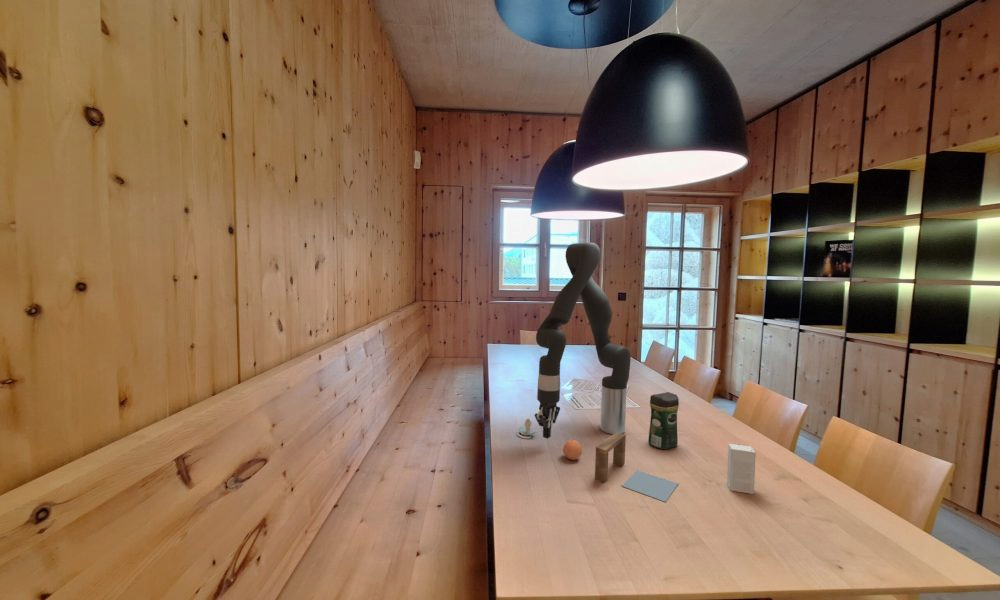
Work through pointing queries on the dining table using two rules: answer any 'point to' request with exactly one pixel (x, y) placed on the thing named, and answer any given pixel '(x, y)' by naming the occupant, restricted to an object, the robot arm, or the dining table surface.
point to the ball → (572, 449)
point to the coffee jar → (663, 420)
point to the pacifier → (527, 431)
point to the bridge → (602, 455)
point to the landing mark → (650, 485)
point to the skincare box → (741, 468)
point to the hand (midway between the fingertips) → (546, 437)
